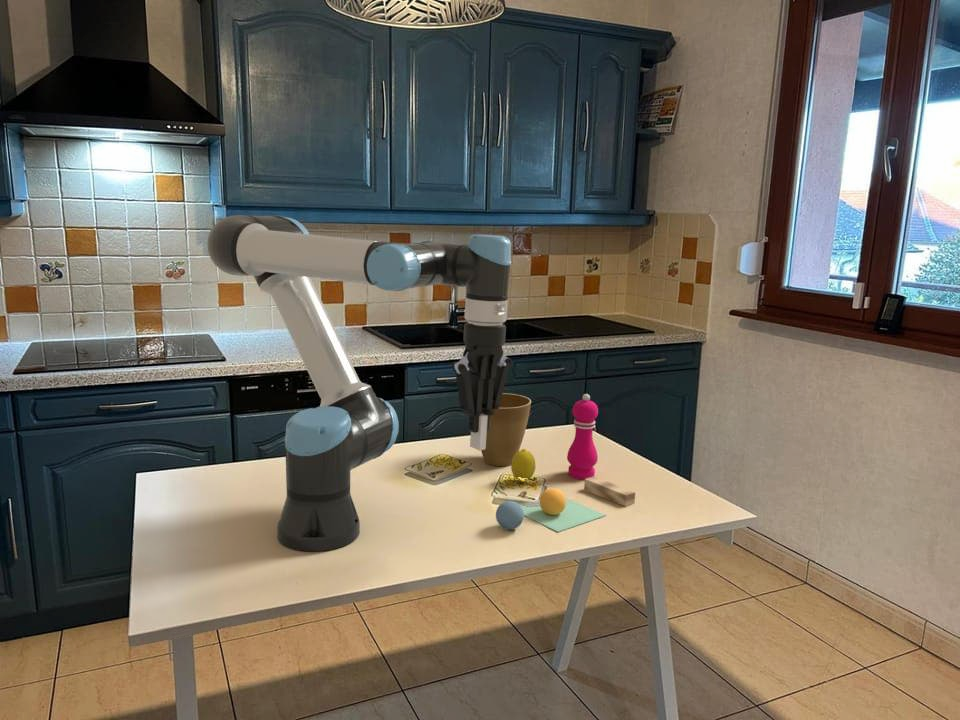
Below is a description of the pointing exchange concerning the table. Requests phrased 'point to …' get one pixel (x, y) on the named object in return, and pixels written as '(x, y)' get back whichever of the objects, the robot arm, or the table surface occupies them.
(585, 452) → the pepper mill
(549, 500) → the orange ball
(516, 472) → the lemon
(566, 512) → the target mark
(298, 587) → the table surface
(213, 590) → the table surface
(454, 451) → the table surface
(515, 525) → the blue ball
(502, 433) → the plant pot
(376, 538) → the table surface
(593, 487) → the bar
